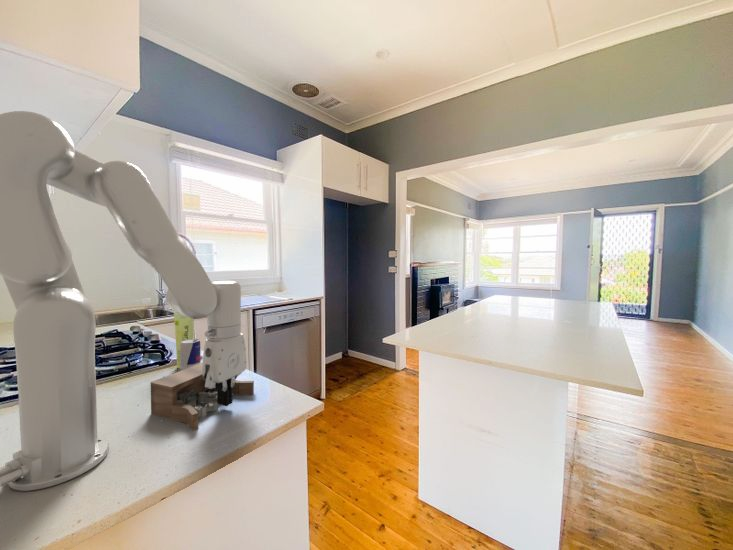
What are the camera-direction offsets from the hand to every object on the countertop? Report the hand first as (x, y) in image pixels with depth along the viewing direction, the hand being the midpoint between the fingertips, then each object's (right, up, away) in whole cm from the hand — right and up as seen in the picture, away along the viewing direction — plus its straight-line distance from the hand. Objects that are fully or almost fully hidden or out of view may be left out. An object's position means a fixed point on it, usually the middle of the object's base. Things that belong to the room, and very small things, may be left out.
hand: (224, 403), depth 74 cm
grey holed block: (-7, -2, 0) cm, 8 cm away
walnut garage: (-6, -1, +2) cm, 7 cm away
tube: (-27, +1, +28) cm, 38 cm away
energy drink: (-19, 0, +17) cm, 25 cm away
